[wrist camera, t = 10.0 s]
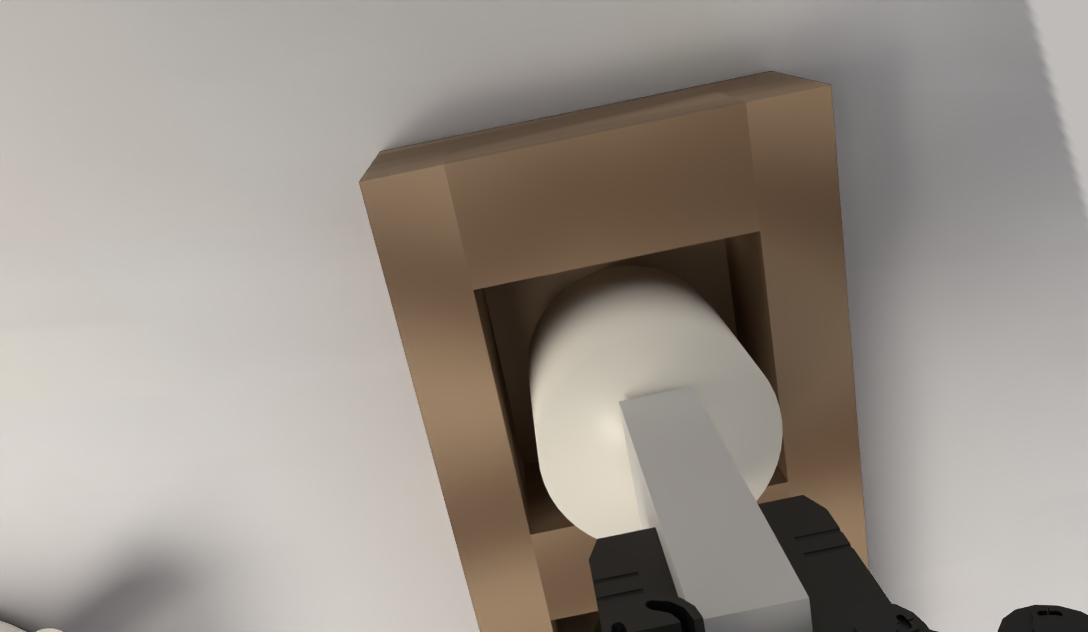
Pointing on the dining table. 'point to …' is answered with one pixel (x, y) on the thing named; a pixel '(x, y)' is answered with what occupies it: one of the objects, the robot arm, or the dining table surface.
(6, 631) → the mug
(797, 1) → the dining table surface
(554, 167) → the wooden compartment tray
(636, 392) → the white short cylinder
